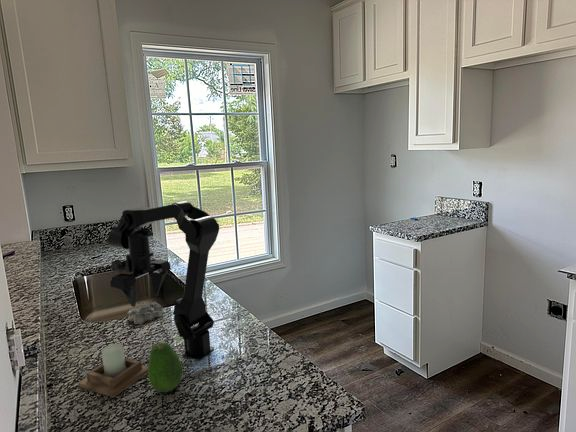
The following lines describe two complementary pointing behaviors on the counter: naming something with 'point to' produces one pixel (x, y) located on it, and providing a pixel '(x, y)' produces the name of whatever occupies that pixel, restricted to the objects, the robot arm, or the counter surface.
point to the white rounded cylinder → (113, 360)
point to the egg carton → (145, 313)
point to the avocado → (164, 368)
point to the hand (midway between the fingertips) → (145, 300)
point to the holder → (113, 385)
